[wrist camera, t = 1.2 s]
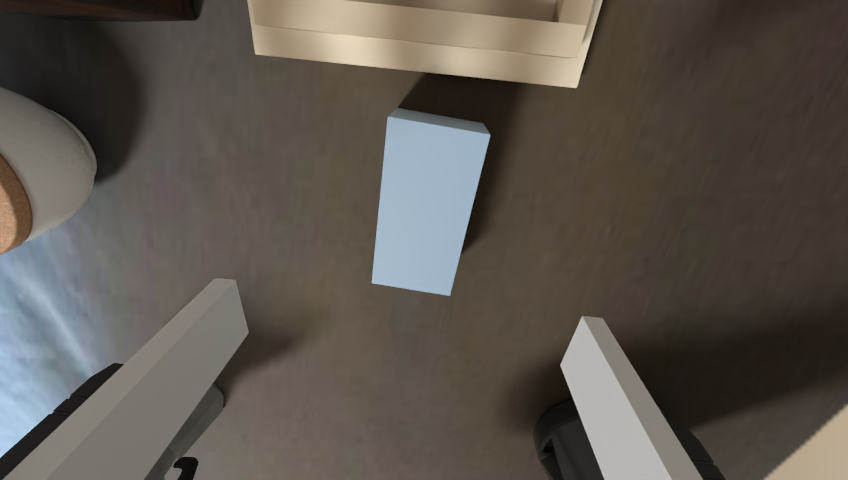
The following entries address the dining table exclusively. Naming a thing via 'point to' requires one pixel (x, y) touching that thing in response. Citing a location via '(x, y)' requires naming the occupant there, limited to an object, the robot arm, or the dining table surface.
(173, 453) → the coffeepot
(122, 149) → the dining table surface
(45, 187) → the lidded jar
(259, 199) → the dining table surface
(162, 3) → the coffee grinder
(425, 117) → the blue block
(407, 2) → the slot holder
